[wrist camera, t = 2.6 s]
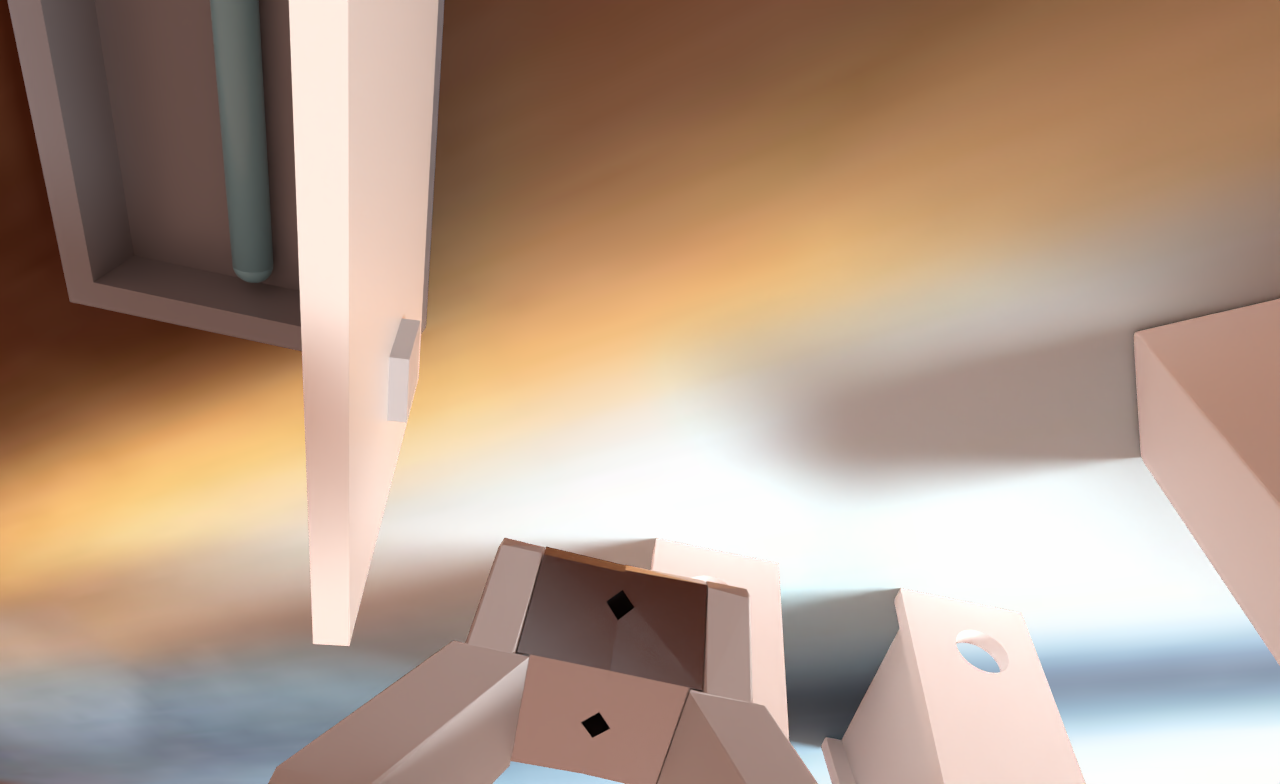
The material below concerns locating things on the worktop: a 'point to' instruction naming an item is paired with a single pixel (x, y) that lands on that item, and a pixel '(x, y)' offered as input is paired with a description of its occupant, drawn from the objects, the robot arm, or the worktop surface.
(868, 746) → the white bracket plate
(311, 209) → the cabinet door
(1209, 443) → the milk carton
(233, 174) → the shallow grey box
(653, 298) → the worktop surface
